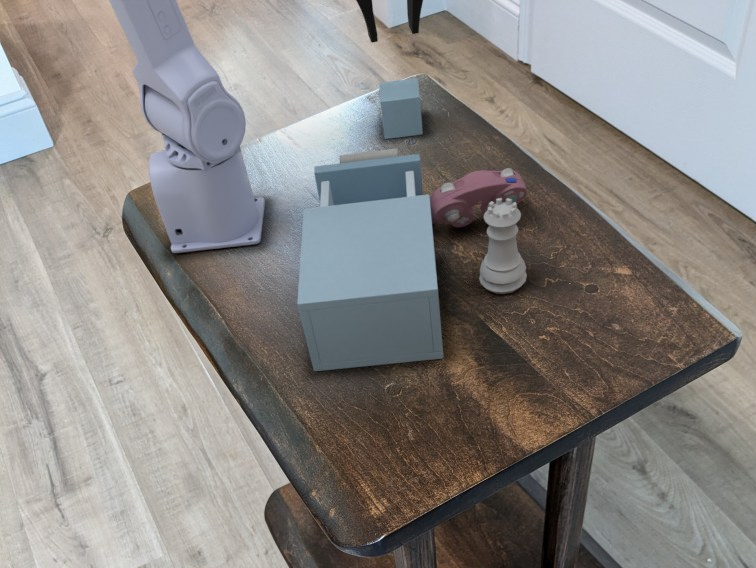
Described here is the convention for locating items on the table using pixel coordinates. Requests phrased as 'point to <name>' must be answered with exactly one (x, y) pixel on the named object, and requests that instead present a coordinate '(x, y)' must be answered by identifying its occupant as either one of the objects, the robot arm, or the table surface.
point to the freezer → (369, 284)
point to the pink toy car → (474, 195)
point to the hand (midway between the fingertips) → (393, 34)
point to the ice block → (401, 108)
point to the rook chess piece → (502, 249)
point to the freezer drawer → (369, 178)
